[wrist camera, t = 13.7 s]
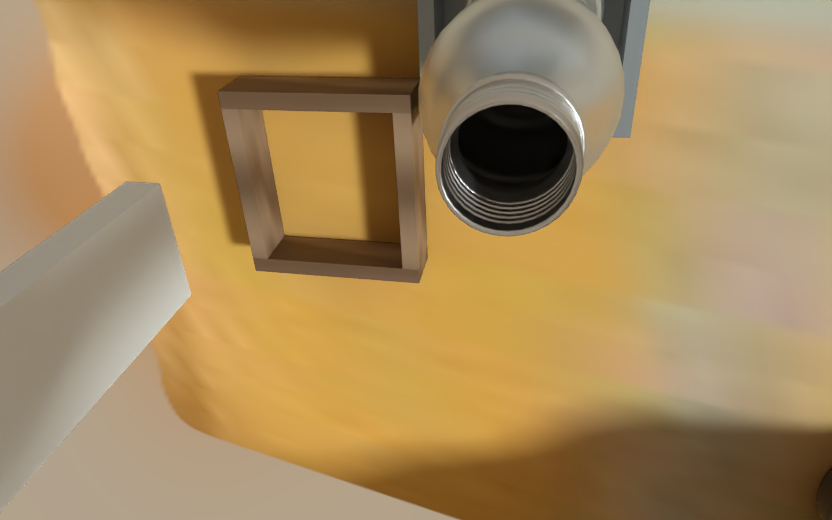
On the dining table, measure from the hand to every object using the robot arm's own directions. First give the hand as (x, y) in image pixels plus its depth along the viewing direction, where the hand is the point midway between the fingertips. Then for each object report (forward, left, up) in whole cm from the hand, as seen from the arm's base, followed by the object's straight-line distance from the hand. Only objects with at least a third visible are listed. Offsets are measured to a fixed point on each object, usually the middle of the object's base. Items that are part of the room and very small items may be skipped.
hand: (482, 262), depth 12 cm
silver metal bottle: (0, 0, -24) cm, 24 cm away
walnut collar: (-10, +12, -25) cm, 29 cm away
